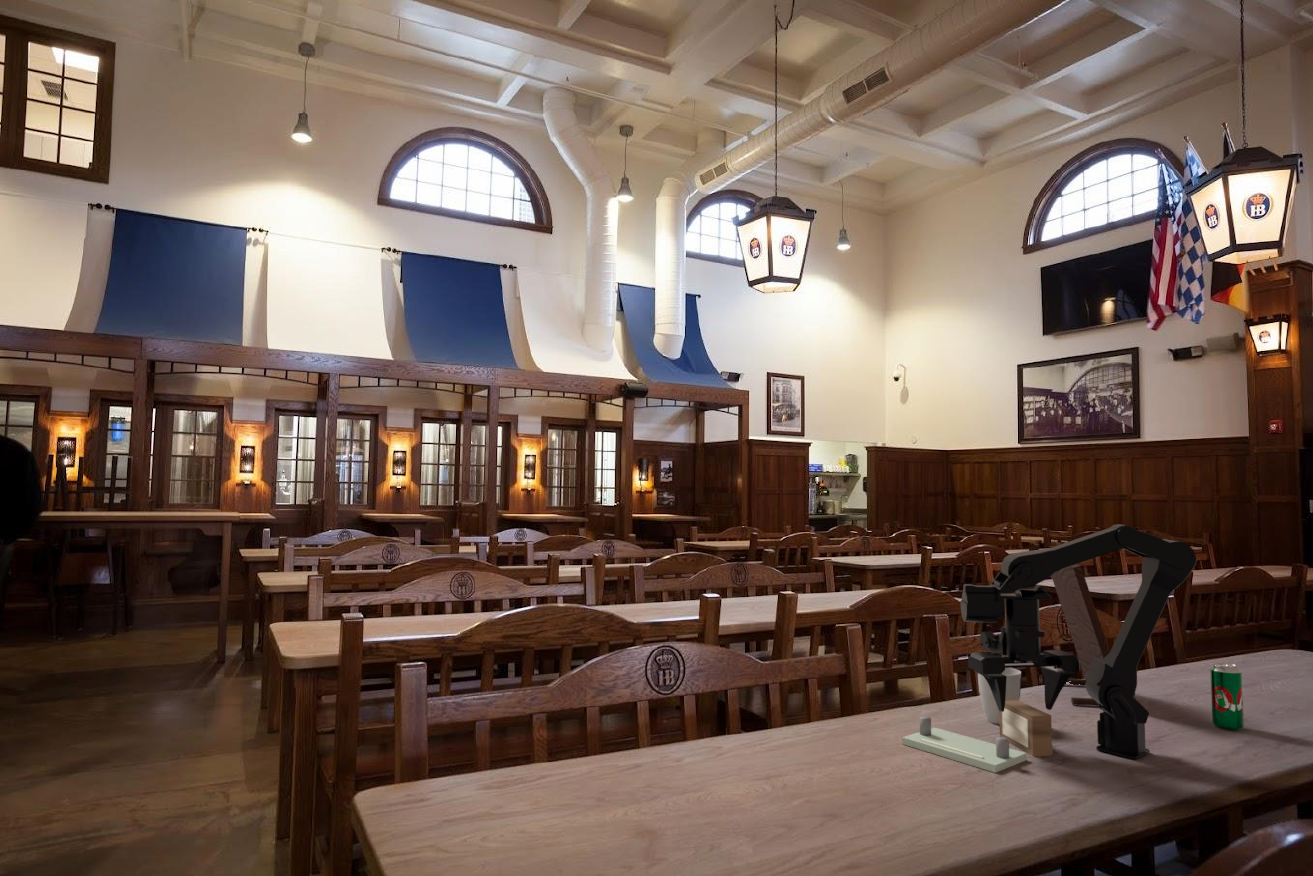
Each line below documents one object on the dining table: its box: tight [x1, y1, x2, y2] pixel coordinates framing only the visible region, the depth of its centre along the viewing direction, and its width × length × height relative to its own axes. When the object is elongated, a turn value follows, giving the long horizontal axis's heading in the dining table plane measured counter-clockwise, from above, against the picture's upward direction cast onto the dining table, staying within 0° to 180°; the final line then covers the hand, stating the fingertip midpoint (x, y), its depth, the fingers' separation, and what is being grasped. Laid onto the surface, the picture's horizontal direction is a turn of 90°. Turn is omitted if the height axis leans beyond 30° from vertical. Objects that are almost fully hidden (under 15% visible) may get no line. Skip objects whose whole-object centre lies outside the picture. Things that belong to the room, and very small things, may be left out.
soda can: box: [1209, 662, 1245, 732], centre depth 155 cm, size 5×5×12 cm
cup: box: [977, 668, 1022, 725], centre depth 159 cm, size 8×8×10 cm
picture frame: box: [1051, 564, 1111, 706], centre depth 179 cm, size 21×11×30 cm, turn 168°
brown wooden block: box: [999, 699, 1053, 757], centre depth 143 cm, size 10×4×7 cm, turn 7°
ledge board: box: [901, 715, 1028, 773], centre depth 140 cm, size 18×10×4 cm, turn 37°
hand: (1025, 710), depth 143 cm, fingers open, 9 cm apart
